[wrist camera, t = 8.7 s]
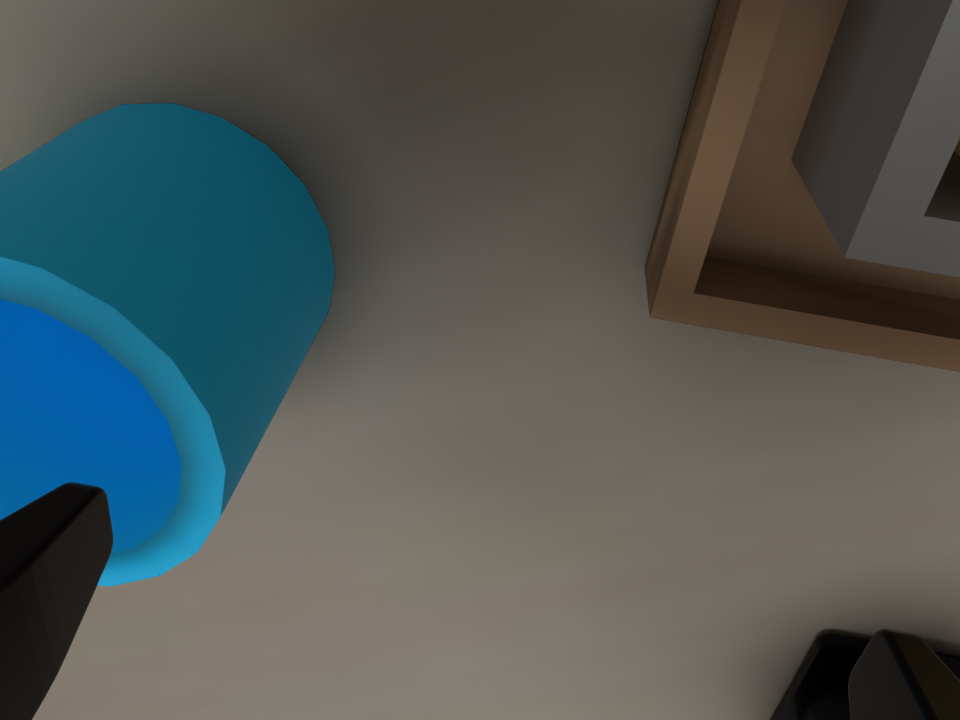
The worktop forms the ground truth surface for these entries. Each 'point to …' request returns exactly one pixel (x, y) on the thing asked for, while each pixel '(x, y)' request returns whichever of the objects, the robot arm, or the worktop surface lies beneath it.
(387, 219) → the worktop surface
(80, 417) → the mug
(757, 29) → the walled box
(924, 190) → the socket
